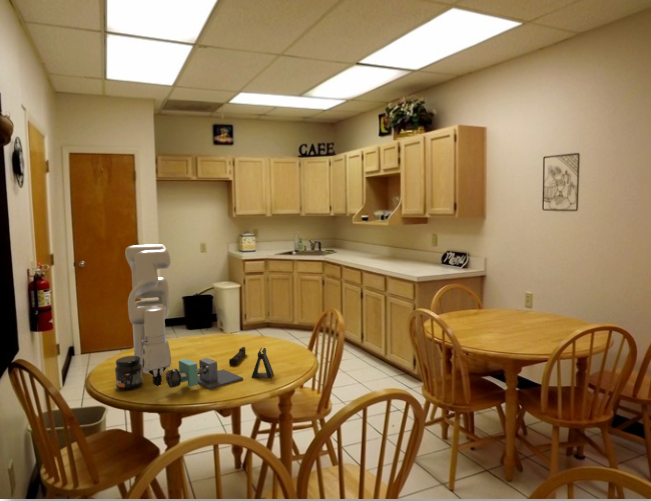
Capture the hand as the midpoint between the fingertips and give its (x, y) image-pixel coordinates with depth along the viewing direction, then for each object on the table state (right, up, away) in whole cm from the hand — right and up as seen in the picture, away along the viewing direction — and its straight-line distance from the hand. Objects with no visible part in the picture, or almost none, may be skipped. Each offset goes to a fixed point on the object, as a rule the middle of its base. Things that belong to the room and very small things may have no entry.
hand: (157, 384), depth 185 cm
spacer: (+10, -2, +9) cm, 14 cm away
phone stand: (+38, -3, +23) cm, 45 cm away
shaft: (+11, -2, +10) cm, 15 cm away
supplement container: (-16, -5, +12) cm, 21 cm away
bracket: (+16, -3, +16) cm, 23 cm away
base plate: (+19, -3, +19) cm, 27 cm away
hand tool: (+23, -2, +47) cm, 52 cm away
